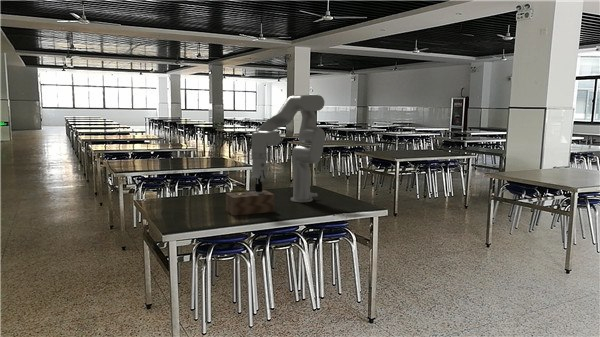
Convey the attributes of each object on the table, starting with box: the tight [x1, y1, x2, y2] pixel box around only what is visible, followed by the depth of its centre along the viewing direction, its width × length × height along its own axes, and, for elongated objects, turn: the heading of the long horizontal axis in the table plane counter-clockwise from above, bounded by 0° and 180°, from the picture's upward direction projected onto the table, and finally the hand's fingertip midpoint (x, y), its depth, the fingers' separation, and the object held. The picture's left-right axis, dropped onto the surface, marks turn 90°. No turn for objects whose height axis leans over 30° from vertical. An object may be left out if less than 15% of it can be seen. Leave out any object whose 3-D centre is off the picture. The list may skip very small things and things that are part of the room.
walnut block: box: [225, 189, 275, 216], centre depth 234 cm, size 22×12×9 cm, turn 116°
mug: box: [229, 188, 249, 193], centre depth 251 cm, size 12×10×10 cm
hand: (258, 191), depth 236 cm, fingers closed
